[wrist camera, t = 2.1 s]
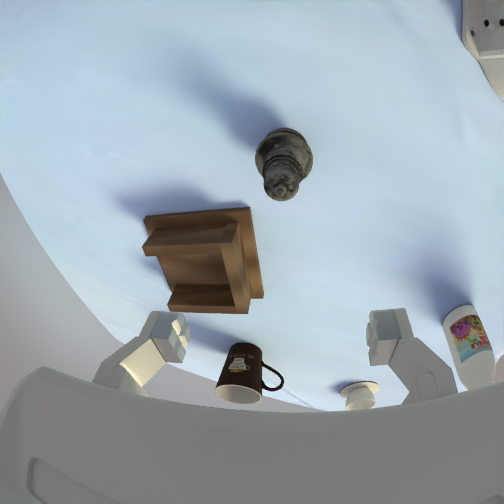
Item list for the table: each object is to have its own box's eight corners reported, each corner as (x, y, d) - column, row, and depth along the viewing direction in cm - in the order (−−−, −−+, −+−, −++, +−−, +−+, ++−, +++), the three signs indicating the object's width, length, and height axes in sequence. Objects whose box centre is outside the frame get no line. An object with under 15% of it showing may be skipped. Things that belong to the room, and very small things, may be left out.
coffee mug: (221, 356, 57) (211, 397, 49) (229, 334, 52) (219, 380, 44) (273, 369, 58) (268, 410, 50) (288, 349, 53) (284, 395, 45)
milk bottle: (467, 327, 44) (494, 411, 28) (437, 332, 46) (460, 423, 30) (479, 300, 39) (515, 390, 24) (448, 306, 41) (480, 404, 25)
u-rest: (146, 216, 38) (128, 237, 34) (249, 207, 36) (242, 230, 31) (175, 293, 47) (165, 317, 43) (263, 293, 44) (259, 320, 40)
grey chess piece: (307, 177, 32) (312, 232, 23) (257, 171, 33) (240, 223, 23) (313, 129, 29) (325, 163, 19) (260, 123, 29) (242, 153, 20)
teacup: (347, 379, 58) (348, 397, 55) (385, 380, 58) (387, 396, 54) (335, 397, 64) (335, 413, 61) (369, 397, 64) (371, 412, 60)
